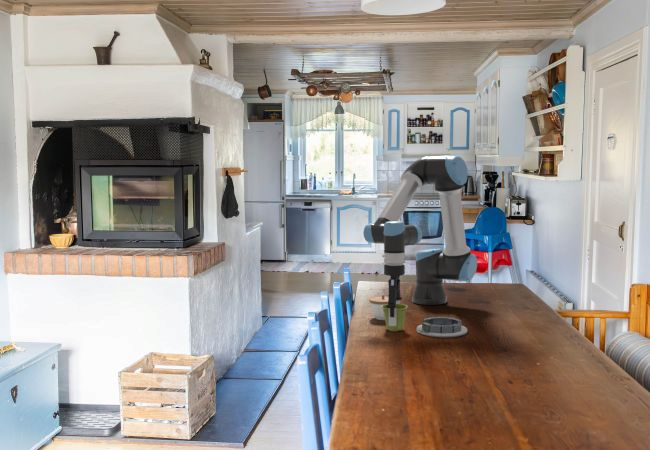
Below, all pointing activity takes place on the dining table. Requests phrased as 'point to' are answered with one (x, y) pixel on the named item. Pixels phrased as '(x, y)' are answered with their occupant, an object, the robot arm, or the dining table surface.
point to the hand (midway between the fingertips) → (394, 321)
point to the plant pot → (399, 317)
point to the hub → (441, 327)
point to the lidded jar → (378, 306)
